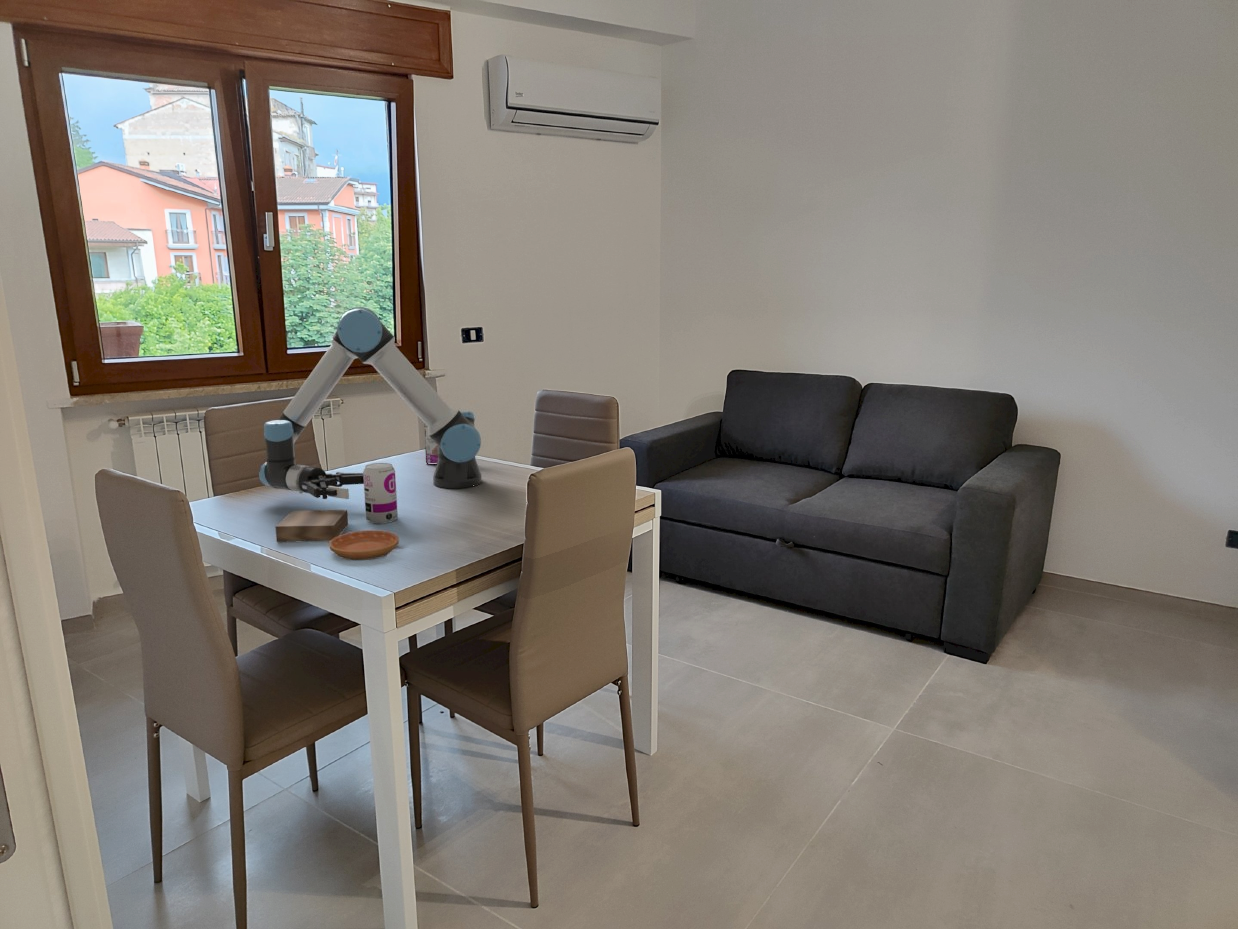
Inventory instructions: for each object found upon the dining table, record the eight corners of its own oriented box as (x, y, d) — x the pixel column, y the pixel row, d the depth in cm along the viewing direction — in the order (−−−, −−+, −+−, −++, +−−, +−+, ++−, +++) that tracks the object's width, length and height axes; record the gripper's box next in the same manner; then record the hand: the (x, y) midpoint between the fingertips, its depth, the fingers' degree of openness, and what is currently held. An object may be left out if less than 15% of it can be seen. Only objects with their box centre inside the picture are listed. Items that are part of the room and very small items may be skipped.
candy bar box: (425, 465, 287) (423, 418, 283) (430, 461, 291) (428, 416, 288) (456, 465, 286) (454, 419, 282) (460, 462, 290) (459, 417, 287)
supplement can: (403, 517, 224) (400, 463, 221) (385, 525, 217) (382, 470, 213) (378, 514, 227) (375, 461, 224) (359, 522, 219) (356, 467, 216)
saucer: (408, 555, 194) (407, 543, 194) (339, 567, 186) (338, 555, 185) (387, 537, 207) (386, 526, 207) (322, 548, 199) (321, 536, 198)
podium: (348, 524, 217) (347, 509, 216) (334, 540, 204) (333, 525, 203) (293, 525, 216) (292, 510, 215) (276, 541, 202) (275, 526, 202)
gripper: (340, 482, 242) (397, 491, 233) (272, 502, 220) (332, 513, 211) (339, 458, 240) (396, 465, 231) (270, 475, 218) (330, 484, 209)
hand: (366, 488), depth 221 cm, fingers open, 13 cm apart
